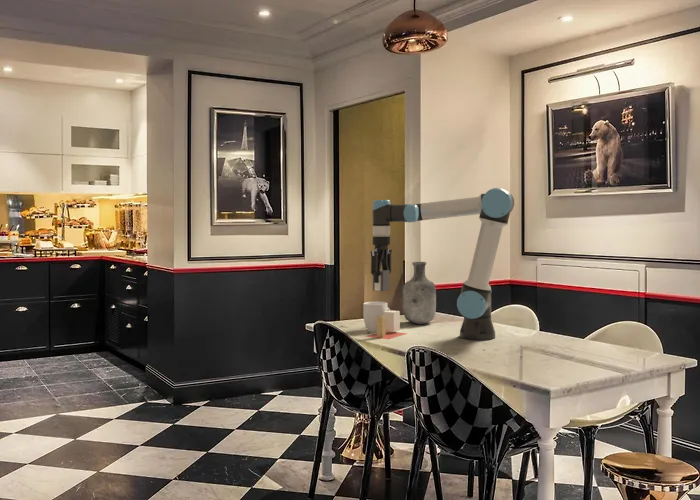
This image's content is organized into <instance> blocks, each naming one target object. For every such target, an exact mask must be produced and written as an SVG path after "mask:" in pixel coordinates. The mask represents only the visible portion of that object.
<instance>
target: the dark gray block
mask: <svg viewBox="0 0 700 500" xmlns="http://www.w3.org/2000/svg"><path fill="white" fill-rule="evenodd" d="M390 274H391V273H390V270H383V269H380V275H381V291H380V292H387V291H390V289H391V287H390V285H391V284H390V283H391V282H390V281H391V280H390ZM372 291H375V292H377V291H376V290H375V282H374V275H372Z"/></svg>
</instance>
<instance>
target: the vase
mask: <svg viewBox="0 0 700 500" xmlns="http://www.w3.org/2000/svg"><path fill="white" fill-rule="evenodd" d="M411 265H412V266H413V276H412V278H411V279H410V280H408V281H406V282H405V283H404V285H403V289H402V307H403V315H404V318H405V320H407V322H410V323H412V324H415V325H423V324H428V323H430V322H431V321H433V320H434V319H435V317H436V313H437V312H436V310H437V291H436V290H437V289H436V284H435V283H434V282H432V281H431V280H429V279H428V278H427V276H426V265H427V262H426V261H413V262H412V263H411Z"/></svg>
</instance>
